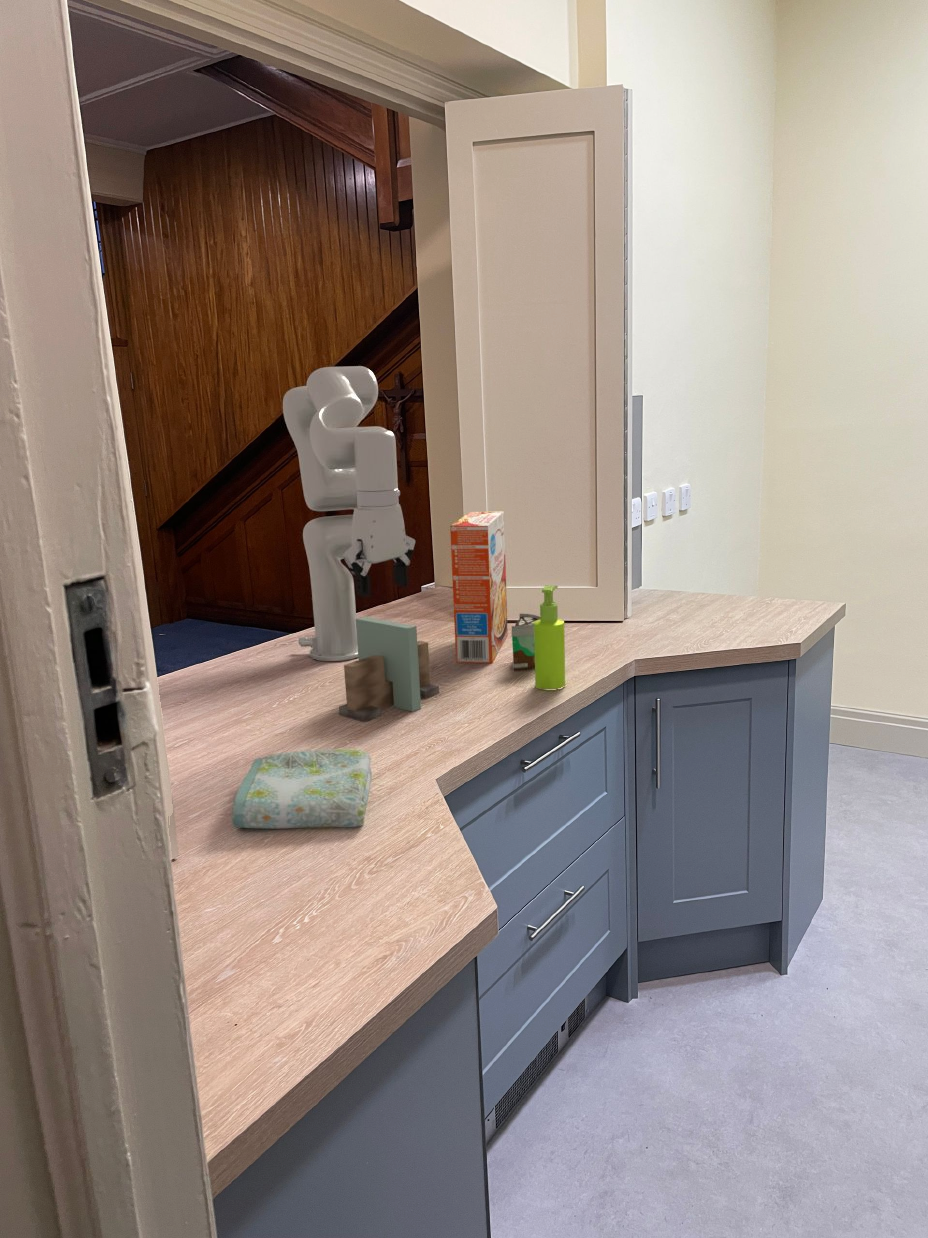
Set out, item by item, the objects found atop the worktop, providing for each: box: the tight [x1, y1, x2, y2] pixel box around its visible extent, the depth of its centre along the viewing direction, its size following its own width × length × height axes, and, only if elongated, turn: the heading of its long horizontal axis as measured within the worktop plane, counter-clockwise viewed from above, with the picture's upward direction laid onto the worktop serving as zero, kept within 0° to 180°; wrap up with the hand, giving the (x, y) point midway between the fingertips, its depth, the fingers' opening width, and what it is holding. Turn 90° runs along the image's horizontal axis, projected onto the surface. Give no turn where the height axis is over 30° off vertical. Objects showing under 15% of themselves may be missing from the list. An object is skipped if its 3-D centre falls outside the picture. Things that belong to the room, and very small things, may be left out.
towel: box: [231, 748, 372, 830], centre depth 138 cm, size 18×21×5 cm
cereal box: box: [449, 511, 509, 664], centre depth 212 cm, size 23×8×30 cm, turn 169°
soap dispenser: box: [534, 584, 566, 690], centre depth 185 cm, size 6×7×20 cm
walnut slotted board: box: [338, 640, 440, 723], centre depth 179 cm, size 20×7×10 cm, turn 139°
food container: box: [511, 612, 540, 672], centre depth 201 cm, size 12×6×10 cm, turn 168°
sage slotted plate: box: [356, 616, 422, 713], centre depth 179 cm, size 2×14×16 cm, turn 49°
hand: (382, 590), depth 176 cm, fingers open, 9 cm apart
